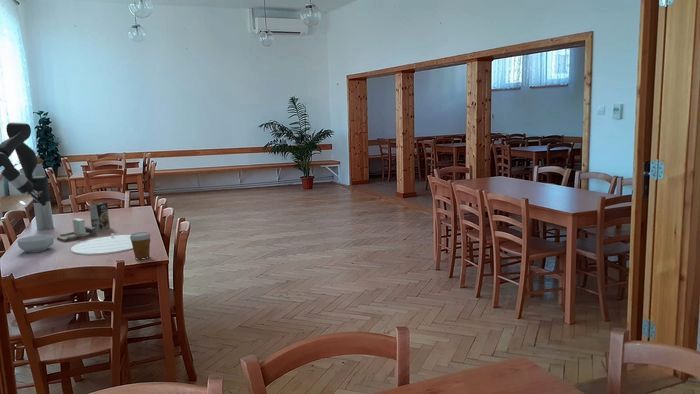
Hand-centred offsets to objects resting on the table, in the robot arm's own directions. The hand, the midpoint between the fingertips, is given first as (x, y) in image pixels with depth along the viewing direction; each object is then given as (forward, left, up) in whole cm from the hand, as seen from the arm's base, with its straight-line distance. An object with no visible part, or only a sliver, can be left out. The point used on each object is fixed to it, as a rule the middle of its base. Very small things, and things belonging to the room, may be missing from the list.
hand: (44, 204), depth 305 cm
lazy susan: (+32, +29, -22) cm, 48 cm away
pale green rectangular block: (-1, +16, -19) cm, 25 cm away
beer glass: (+72, +39, -21) cm, 84 cm away
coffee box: (-15, +28, -21) cm, 38 cm away
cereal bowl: (+20, -6, -21) cm, 30 cm away
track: (0, +13, -21) cm, 25 cm away
